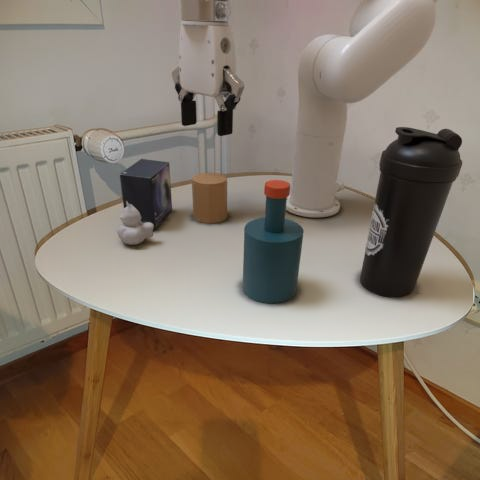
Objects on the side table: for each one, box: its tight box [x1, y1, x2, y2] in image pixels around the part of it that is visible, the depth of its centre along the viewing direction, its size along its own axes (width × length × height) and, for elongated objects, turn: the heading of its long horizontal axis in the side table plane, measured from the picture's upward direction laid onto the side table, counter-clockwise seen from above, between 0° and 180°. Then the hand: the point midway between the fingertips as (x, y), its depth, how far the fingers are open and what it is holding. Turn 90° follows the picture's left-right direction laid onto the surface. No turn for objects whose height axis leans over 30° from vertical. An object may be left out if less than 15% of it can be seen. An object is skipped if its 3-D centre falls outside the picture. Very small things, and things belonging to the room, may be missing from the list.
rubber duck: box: [116, 201, 154, 246], centre depth 74 cm, size 5×7×8 cm
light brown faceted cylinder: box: [191, 172, 228, 224], centre depth 85 cm, size 7×7×8 cm
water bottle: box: [359, 126, 463, 299], centre depth 61 cm, size 10×10×23 cm
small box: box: [119, 158, 173, 231], centre depth 82 cm, size 11×6×10 cm, turn 168°
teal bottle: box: [242, 179, 305, 304], centre depth 60 cm, size 8×8×16 cm
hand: (206, 129), depth 77 cm, fingers open, 9 cm apart
